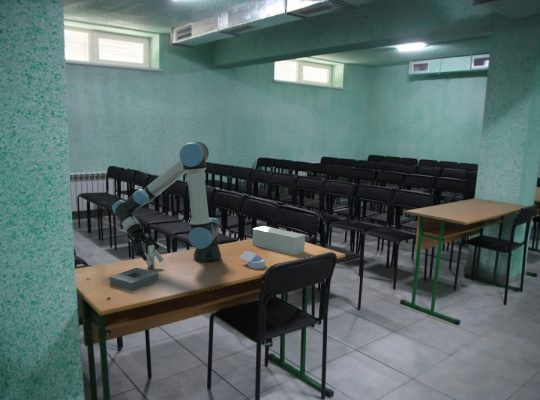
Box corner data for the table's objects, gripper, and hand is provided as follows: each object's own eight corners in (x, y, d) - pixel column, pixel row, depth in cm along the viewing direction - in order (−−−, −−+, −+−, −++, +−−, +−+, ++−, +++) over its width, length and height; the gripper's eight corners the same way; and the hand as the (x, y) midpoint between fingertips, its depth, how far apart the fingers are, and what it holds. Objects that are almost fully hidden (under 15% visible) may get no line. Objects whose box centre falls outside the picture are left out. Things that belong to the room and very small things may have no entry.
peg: (151, 266, 224) (151, 244, 222) (155, 268, 222) (155, 245, 220) (146, 268, 221) (146, 245, 219) (151, 269, 219) (151, 246, 217)
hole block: (136, 274, 211) (136, 267, 211) (157, 280, 205) (157, 273, 204) (110, 284, 198) (109, 276, 197) (132, 290, 191) (132, 283, 190)
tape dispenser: (239, 263, 234) (256, 269, 225) (239, 251, 233) (256, 257, 224) (251, 260, 240) (268, 266, 232) (251, 249, 239) (268, 254, 230)
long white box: (252, 245, 273) (252, 228, 271) (262, 242, 281) (263, 225, 279) (294, 255, 254) (295, 237, 252) (304, 252, 262) (305, 234, 260)
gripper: (143, 227, 235) (166, 262, 230) (113, 235, 217) (137, 272, 212) (150, 219, 231) (173, 254, 226) (120, 226, 214) (145, 263, 209)
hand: (156, 262), depth 219 cm, fingers open, 7 cm apart
